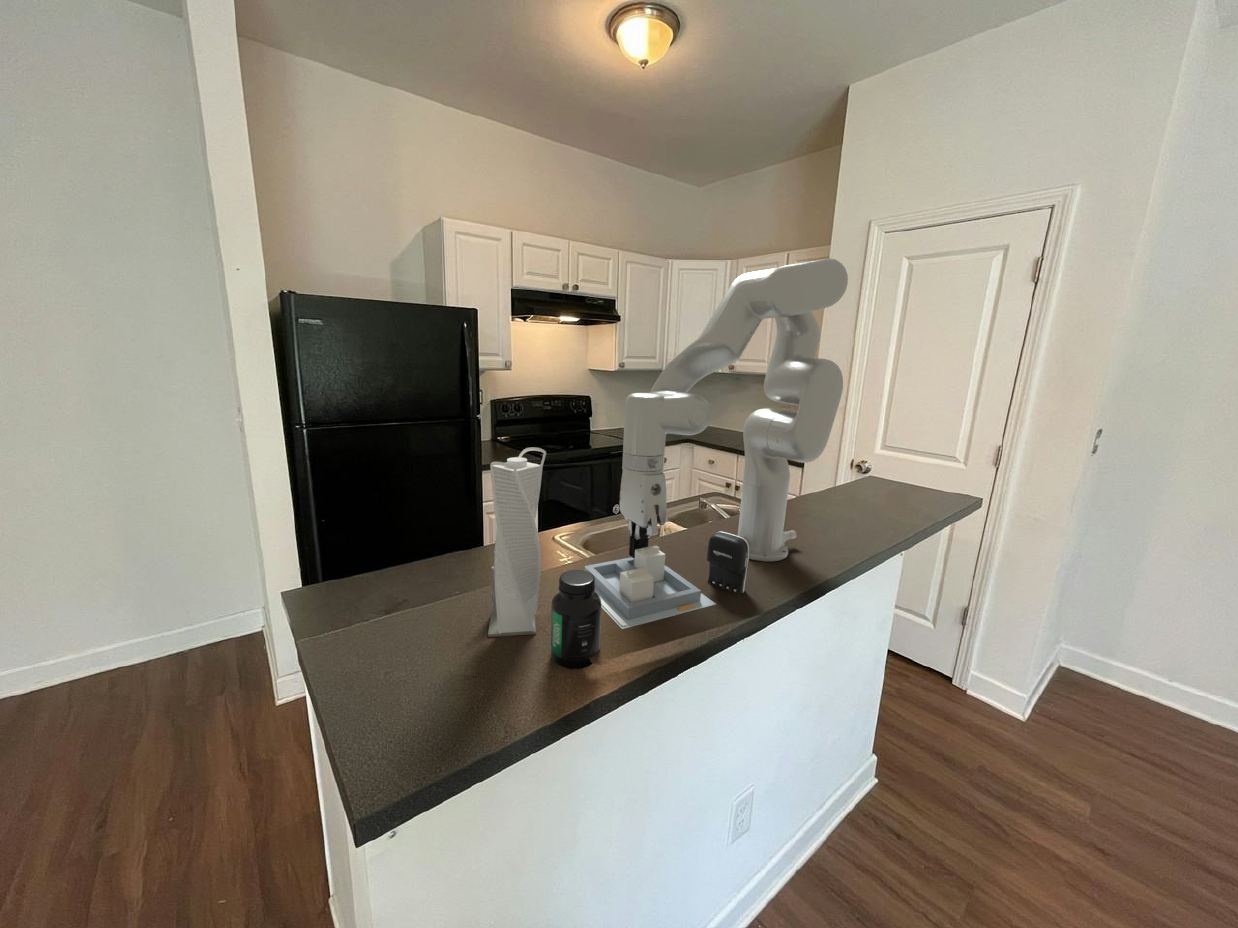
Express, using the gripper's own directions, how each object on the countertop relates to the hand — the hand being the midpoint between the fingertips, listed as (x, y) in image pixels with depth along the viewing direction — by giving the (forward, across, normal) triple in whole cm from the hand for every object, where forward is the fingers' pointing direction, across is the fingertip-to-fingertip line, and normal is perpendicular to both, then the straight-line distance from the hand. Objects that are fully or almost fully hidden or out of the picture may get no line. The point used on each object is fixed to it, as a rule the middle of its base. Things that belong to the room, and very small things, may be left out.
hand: (638, 555), depth 92 cm
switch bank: (+4, -7, +3) cm, 9 cm away
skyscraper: (+4, -7, +25) cm, 27 cm away
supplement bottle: (+4, -18, +20) cm, 27 cm away
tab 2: (+3, -11, +7) cm, 14 cm away
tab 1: (+3, -4, 0) cm, 5 cm away
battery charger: (+4, -13, -11) cm, 17 cm away
